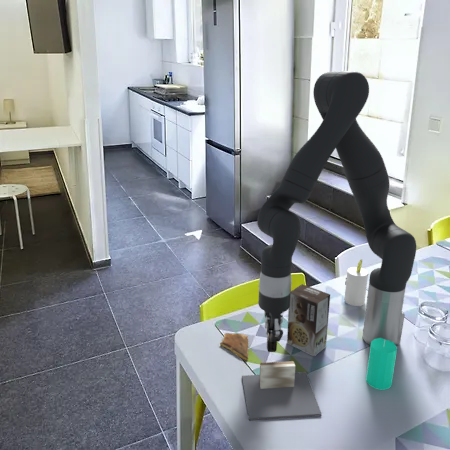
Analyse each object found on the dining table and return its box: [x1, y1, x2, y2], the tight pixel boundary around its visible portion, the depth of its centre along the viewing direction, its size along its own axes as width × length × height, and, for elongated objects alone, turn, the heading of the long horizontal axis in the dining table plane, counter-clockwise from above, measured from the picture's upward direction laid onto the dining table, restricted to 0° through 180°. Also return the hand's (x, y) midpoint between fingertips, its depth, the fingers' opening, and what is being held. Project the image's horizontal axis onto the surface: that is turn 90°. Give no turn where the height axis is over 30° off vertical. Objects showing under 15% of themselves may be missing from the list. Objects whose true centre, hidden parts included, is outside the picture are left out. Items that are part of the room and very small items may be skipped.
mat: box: [241, 371, 322, 421], centre depth 108 cm, size 16×14×1 cm
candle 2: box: [365, 338, 398, 391], centre depth 111 cm, size 6×6×12 cm
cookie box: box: [286, 283, 331, 357], centre depth 124 cm, size 9×6×16 cm
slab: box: [259, 360, 296, 389], centre depth 110 cm, size 8×2×6 cm, turn 94°
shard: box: [219, 332, 249, 361], centre depth 125 cm, size 11×8×2 cm
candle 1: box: [343, 259, 369, 307], centre depth 146 cm, size 6×6×15 cm
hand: (271, 350), depth 116 cm, fingers closed
